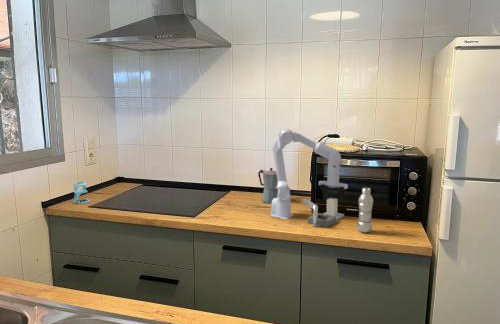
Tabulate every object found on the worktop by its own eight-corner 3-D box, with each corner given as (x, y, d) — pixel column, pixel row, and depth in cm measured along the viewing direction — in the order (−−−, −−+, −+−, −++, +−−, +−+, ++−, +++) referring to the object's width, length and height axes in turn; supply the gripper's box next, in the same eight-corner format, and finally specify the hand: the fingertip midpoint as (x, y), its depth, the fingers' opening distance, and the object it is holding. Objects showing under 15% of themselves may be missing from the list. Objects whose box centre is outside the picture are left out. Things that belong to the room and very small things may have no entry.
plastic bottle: (357, 233, 168) (359, 189, 164) (356, 228, 174) (357, 186, 171) (372, 234, 167) (375, 190, 163) (370, 229, 173) (372, 186, 170)
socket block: (307, 223, 181) (307, 217, 181) (317, 218, 189) (317, 212, 188) (326, 228, 175) (326, 221, 175) (336, 222, 183) (336, 216, 182)
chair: (72, 202, 220) (70, 182, 218) (87, 199, 225) (85, 180, 223) (74, 205, 214) (72, 184, 212) (90, 202, 219) (88, 182, 216)
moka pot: (276, 205, 213) (277, 170, 209) (253, 201, 221) (253, 167, 217) (284, 201, 221) (284, 167, 217) (261, 197, 229) (261, 165, 225)
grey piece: (318, 226, 176) (318, 205, 174) (314, 227, 175) (314, 205, 173) (305, 218, 188) (305, 198, 186) (301, 219, 187) (301, 198, 186)
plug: (326, 215, 190) (326, 199, 188) (329, 213, 193) (330, 197, 192) (333, 216, 187) (334, 200, 186) (337, 214, 191) (337, 199, 189)
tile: (319, 218, 190) (319, 215, 190) (327, 213, 197) (327, 210, 197) (336, 221, 184) (336, 218, 184) (343, 216, 191) (344, 214, 191)
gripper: (316, 173, 188) (315, 200, 190) (344, 177, 180) (343, 204, 182) (322, 171, 193) (321, 197, 196) (349, 174, 185) (348, 201, 188)
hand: (332, 200), depth 189 cm, fingers open, 7 cm apart
